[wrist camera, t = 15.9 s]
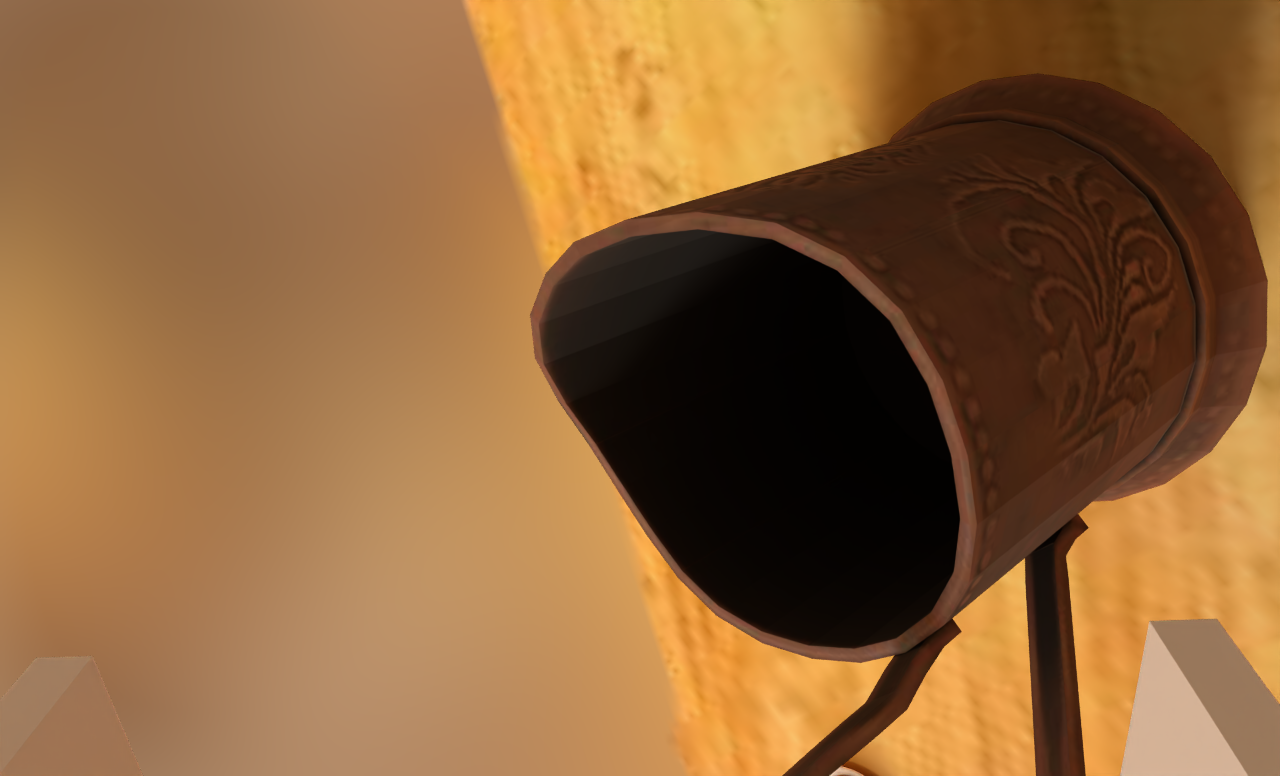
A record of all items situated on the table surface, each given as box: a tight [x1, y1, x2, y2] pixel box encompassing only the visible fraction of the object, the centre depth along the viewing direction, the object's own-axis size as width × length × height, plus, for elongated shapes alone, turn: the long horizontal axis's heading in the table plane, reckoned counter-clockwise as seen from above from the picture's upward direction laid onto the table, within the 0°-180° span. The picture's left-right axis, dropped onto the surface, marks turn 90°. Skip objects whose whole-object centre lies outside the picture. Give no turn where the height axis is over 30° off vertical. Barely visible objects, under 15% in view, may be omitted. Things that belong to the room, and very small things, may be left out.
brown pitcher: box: [530, 74, 1268, 776], centre depth 34 cm, size 18×24×25 cm
